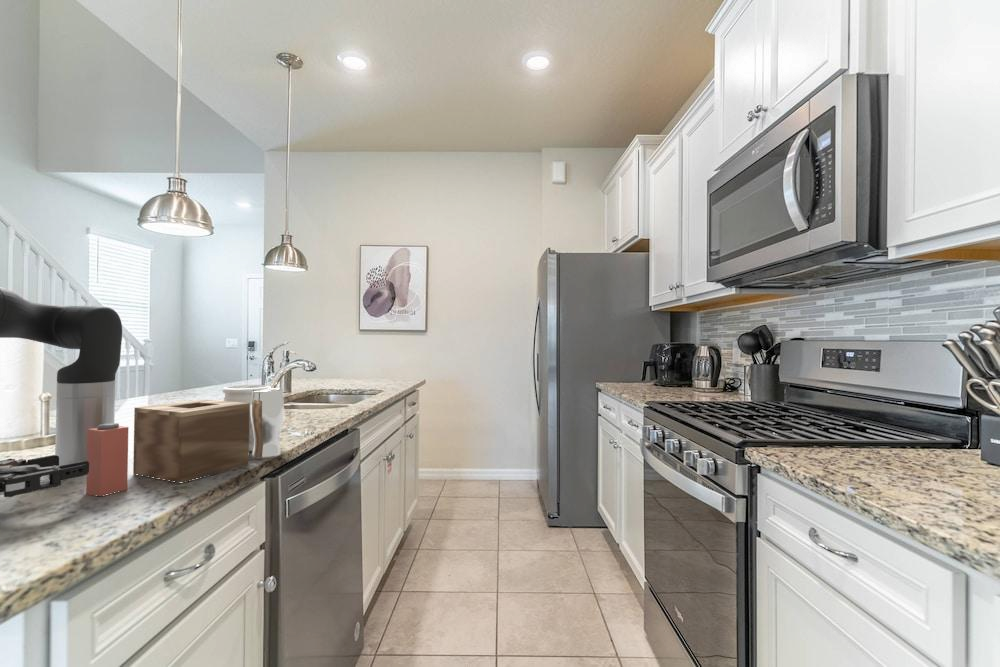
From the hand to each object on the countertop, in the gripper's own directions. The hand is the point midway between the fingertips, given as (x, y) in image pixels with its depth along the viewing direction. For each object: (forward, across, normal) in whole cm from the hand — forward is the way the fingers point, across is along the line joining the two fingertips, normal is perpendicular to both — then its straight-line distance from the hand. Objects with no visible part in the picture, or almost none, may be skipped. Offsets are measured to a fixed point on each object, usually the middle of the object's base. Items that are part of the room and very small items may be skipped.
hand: (72, 464), depth 75 cm
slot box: (+20, 0, +6) cm, 21 cm away
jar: (+37, +6, +6) cm, 38 cm away
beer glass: (+34, -4, +6) cm, 35 cm away
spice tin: (+5, 0, +6) cm, 8 cm away
